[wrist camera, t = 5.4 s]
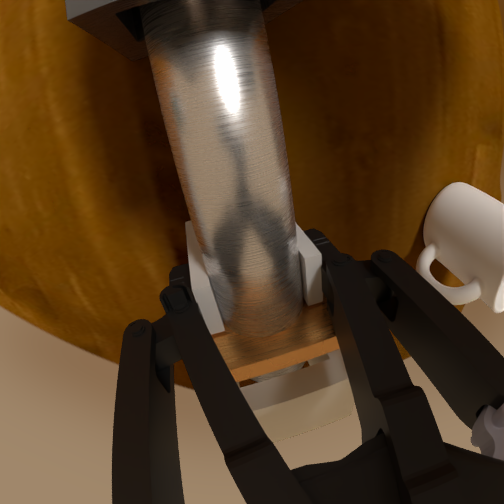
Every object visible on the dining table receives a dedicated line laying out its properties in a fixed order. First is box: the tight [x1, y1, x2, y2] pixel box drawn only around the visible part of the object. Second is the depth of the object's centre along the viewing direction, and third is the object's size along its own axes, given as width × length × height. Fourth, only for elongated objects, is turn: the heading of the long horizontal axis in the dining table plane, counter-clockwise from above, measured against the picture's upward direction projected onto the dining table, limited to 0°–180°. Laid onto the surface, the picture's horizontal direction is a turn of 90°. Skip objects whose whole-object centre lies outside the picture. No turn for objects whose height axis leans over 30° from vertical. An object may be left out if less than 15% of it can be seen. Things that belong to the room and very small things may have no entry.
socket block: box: [236, 349, 354, 443], centre depth 19 cm, size 5×7×12 cm
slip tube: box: [139, 0, 340, 382], centre depth 11 cm, size 20×6×6 cm, turn 10°
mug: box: [416, 182, 504, 313], centre depth 21 cm, size 12×8×10 cm
